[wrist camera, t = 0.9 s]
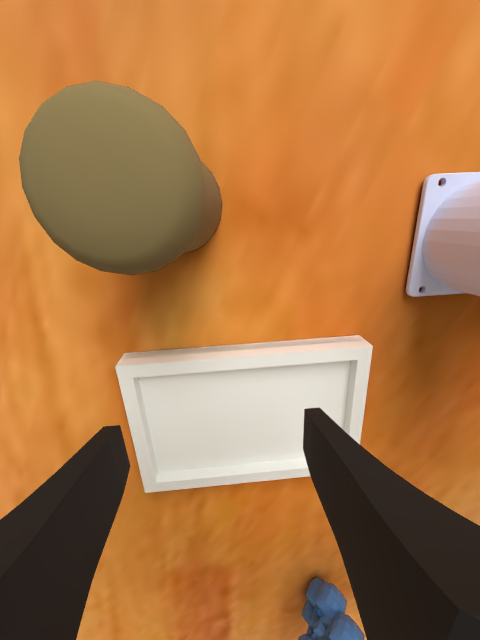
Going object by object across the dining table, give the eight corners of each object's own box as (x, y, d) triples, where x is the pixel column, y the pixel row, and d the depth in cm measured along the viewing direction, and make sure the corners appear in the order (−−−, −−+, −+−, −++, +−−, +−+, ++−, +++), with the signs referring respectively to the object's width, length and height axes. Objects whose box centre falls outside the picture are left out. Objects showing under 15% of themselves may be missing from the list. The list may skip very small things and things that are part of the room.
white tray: (359, 335, 21) (372, 346, 20) (346, 452, 26) (356, 471, 24) (124, 352, 21) (115, 366, 19) (150, 472, 25) (145, 492, 23)
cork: (170, 272, 19) (103, 337, 8) (103, 193, 17) (-88, 155, 7) (241, 214, 18) (264, 210, 7) (178, 125, 16) (92, -49, 6)
